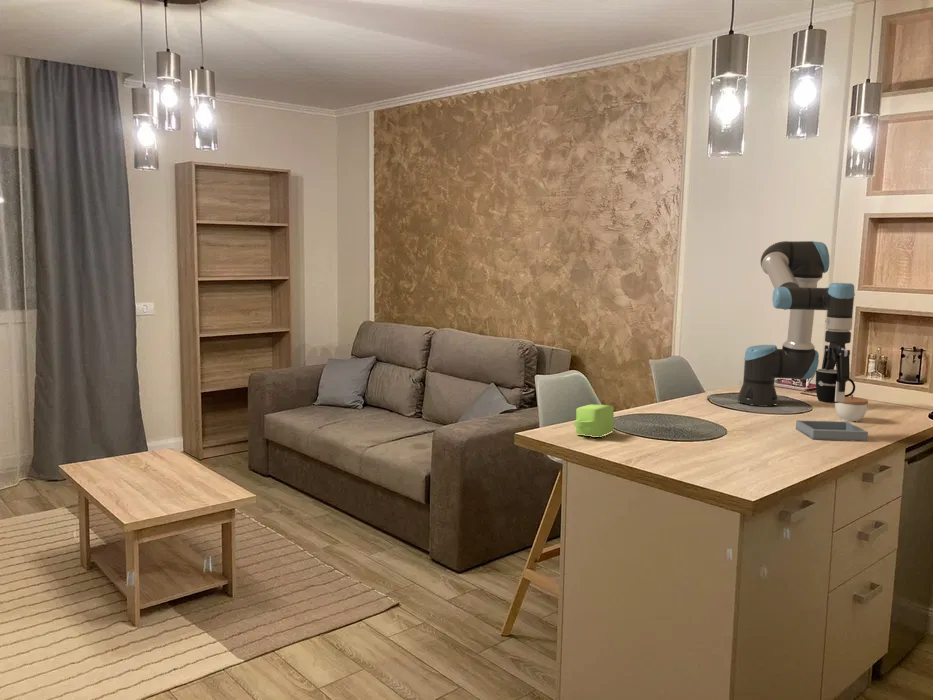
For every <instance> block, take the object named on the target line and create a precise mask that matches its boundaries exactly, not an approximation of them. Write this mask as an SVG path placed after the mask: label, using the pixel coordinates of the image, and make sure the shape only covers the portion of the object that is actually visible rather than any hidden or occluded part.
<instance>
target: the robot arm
mask: <svg viewBox="0 0 933 700" xmlns="http://www.w3.org/2000/svg"><path fill="white" fill-rule="evenodd" d="M760 266H761V269H762V271H763V272H764V273H765V274H766V275H768V277H769V279H770V283H772V287H773V288H774V289H773V290H772V300H771V301H772V306H773V308H775V310H777V309H778V310H779V309H780V310H784V311H785V310H790V311H789V319H788V330H787V338H786V340H785V342H783V343H782V347H781V348H778V346H777V345H775V344H757V345H752V346H748V347H747V348H746V350H745V354H744V358H743V360H744V362H743V363H744V365H743V383H742V385H741V387H740V390H739V392H738V395H737V402H738V401H740V402H742V403H746V404H753V405H774V404H777V403H778V404H779V398H778V394H777V391H776V387H775V381H776V380H775V379H790V380H791V379H792V380H794V379H795V380H810V379H812V378H813V377H814V376H816V370H817V369H818V367H819V361H820V360H819V356H820V355H819V351H818V350H817V349H815V347H816V346H815V345H814V344H813V343H812V336H813V327H814V326H813V325H814V318H815V311H826V320H825V321H824V322H825V329H826V331H825V333H824V342H826V343H829V344H828V345H827V344H826V345H824V353H823V358H822V359H823V360H822V364H821V369H826V370H830V369H833V370H837V378H838V379H837V380H835V381H836V390H835V402H844V399H845V395H846V384H847V382H850V381H849V380H850V379H851V376H850V375H851V374H850V373H851V372H850V370H851V369H850V366H851V365H850V355H851V350H850V349H847V348H846V344H850V343H851V339H852V338H851V337H852V332H851V331H852V328H853V312H854V302H855V301H854V300H855V296H856V293H855V285H854V284H853V283H850V282H849V283H848V282H831V283H830V284H829V286H828V287H818V282H819V281H820V280H821V279H822V278H823V275H824V274H825V273H828V271H829V268H830V253H829V249H828V246H827V245H826V244H825V243H824V242H821V241H814V240H812V241H810V240H807V241H806V240H804V241H802V240H801V241H799V240H798V241H789V240H788V241H787V240H784V241H779V242H775V243H773V244H771V245H769V246H768V247H767V248H766V249H765V250H764V252H763V253H762V254H761V256H760ZM742 403H741V404H742ZM746 404H745V405H746Z"/></svg>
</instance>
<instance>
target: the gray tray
mask: <svg viewBox="0 0 933 700" xmlns="http://www.w3.org/2000/svg"><path fill="white" fill-rule="evenodd" d="M795 430H797V431H799V433H802V434H803V435H804V436H807V437H808V438H810V439H812V440H813V441H815V440H819V441H845V440H860V441H859V442H868V437H869V431H867V430H865V429H863V428H860V427H859V426H857V425H855V424H852V423H851V422H849V421H837V420H836V421H834V420H833V421H831V420H799V419H797V420H795Z"/></svg>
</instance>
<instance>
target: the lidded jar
mask: <svg viewBox="0 0 933 700" xmlns="http://www.w3.org/2000/svg"><path fill="white" fill-rule="evenodd" d="M868 404H869V400H868V399H866V398H862V397H856V396H854V394H852V395H850V396H848V397H845V399H844V402H839V403H834V411H835V413H836V416H838V418H839V419H840V420H841V421H843V420H845V421H844V422H849V421H851V422H852V423H853V421H856V422H855V423H858V422H860V420H861V419H863V418H864V417H865V416H866V413H867V410H868ZM857 421H858V422H857ZM851 422H850V423H851Z"/></svg>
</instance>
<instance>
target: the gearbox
mask: <svg viewBox="0 0 933 700" xmlns="http://www.w3.org/2000/svg"><path fill="white" fill-rule="evenodd" d="M614 414H615V413H614V405H608V404H592V403H591V404H587V405H586V404H585V405H583V406H580V407H577V408H576V410H575V415H576V416H575V420H574V421H573V425H574V426H573V427H575V429H576V430H575V431H576V432H575V433H578V434H585V435H592V436H599V437H600V436H602V435H604V434H607V433H609V432H611V431H613V432H614V426H615V425H614V421H615V420H614V419H615V418H614V417H615V415H614Z"/></svg>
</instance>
